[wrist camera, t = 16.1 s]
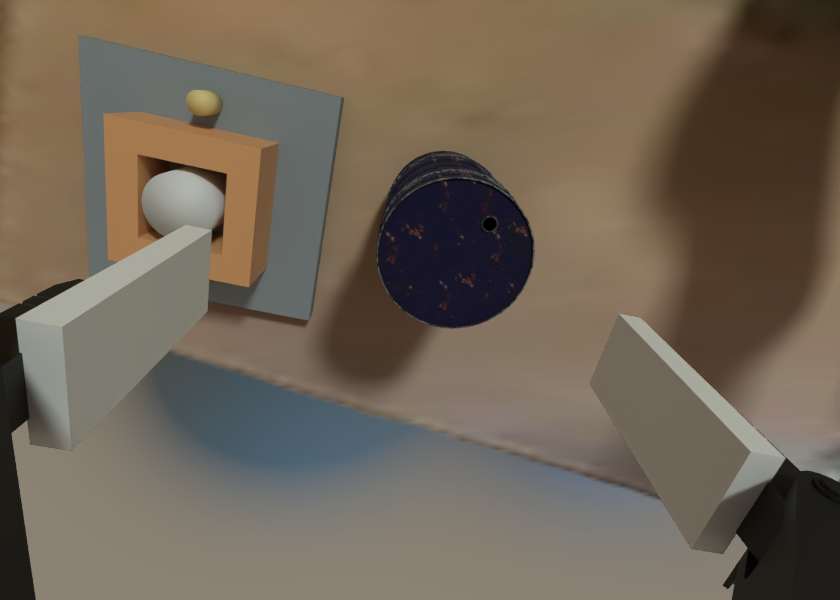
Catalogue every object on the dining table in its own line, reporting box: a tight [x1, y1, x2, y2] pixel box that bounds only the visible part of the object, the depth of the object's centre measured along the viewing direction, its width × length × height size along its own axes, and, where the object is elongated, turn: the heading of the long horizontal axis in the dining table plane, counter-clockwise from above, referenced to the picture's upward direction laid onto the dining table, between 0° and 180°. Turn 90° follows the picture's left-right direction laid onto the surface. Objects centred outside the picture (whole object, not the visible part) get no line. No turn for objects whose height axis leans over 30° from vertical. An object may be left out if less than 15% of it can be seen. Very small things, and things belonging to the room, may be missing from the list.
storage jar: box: [377, 151, 534, 328], centre depth 36 cm, size 10×10×15 cm
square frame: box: [103, 112, 279, 287], centre depth 38 cm, size 11×11×5 cm
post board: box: [78, 35, 344, 321], centre depth 39 cm, size 20×20×7 cm
